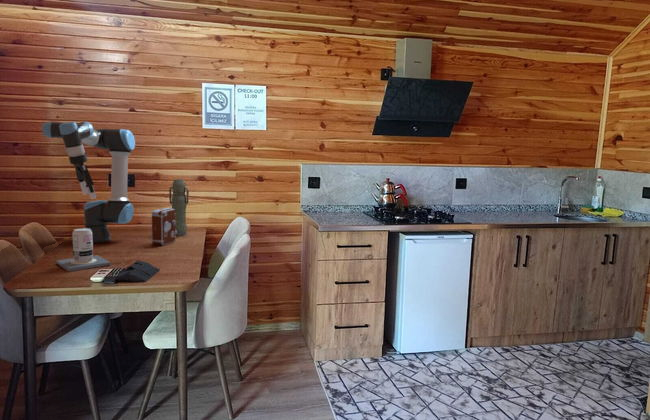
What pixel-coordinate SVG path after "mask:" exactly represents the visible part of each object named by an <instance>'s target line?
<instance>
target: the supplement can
mask: <svg viewBox="0 0 650 420" xmlns="http://www.w3.org/2000/svg"><path fill="white" fill-rule="evenodd" d="M71 237H72V252H73V253H72V255H73V257H72V258H74V261H75V262H77V263H85V262H90V261H92V260H93V256H94V243H93V240H92V231H91V229H89V228H85V227H83V228H75V229H73V231H72V236H71Z"/></svg>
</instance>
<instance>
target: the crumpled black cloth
mask: <svg viewBox="0 0 650 420" xmlns="http://www.w3.org/2000/svg"><path fill="white" fill-rule="evenodd" d="M160 271H161V270H160V268H157V267H156V266H153V265H152V264H151V263H149V262H146V261H142V260H136V261H135V262H134V263H132V264H130V265H129V266H127V267H126V268H125V269H123V270H122V272H119V274H117V275H116V276H115V279H116V280H117V281H123V282H126V281H127V282H131V283H132V282H133V283H146V282H148V281H149V280H151V278H153V277H154V276H155V275H156V274H157V273H159V272H160Z"/></svg>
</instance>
